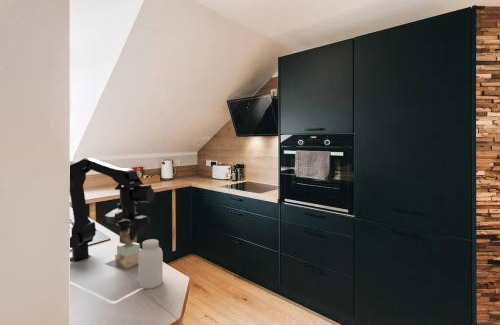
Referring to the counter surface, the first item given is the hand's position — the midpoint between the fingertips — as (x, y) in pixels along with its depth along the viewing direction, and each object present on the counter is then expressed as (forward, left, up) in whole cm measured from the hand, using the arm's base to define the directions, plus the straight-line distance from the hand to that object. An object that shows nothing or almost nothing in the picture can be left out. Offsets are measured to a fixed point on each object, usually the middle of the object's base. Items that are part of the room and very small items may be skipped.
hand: (128, 239), depth 110 cm
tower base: (0, 0, -10) cm, 10 cm away
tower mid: (0, 0, -6) cm, 6 cm away
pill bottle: (+20, -6, -10) cm, 23 cm away
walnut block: (0, 0, -1) cm, 1 cm away
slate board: (-1, 0, -10) cm, 10 cm away
